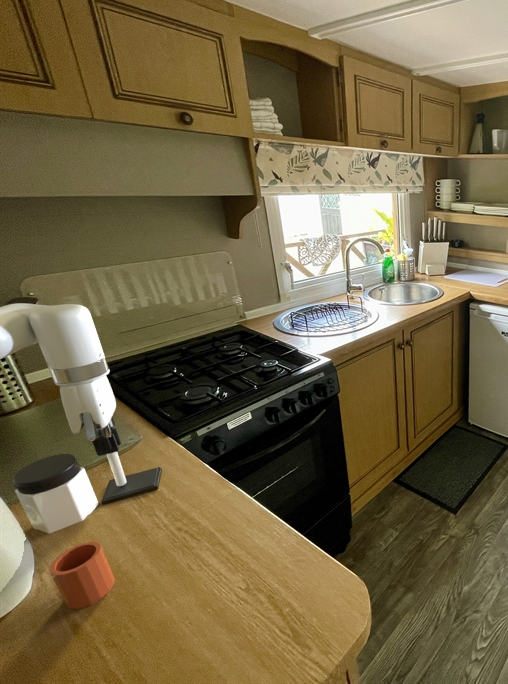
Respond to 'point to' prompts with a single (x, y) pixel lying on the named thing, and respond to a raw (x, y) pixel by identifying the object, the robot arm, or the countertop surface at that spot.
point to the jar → (55, 492)
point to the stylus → (116, 467)
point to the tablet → (133, 485)
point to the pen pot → (82, 574)
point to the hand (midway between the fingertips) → (109, 449)
